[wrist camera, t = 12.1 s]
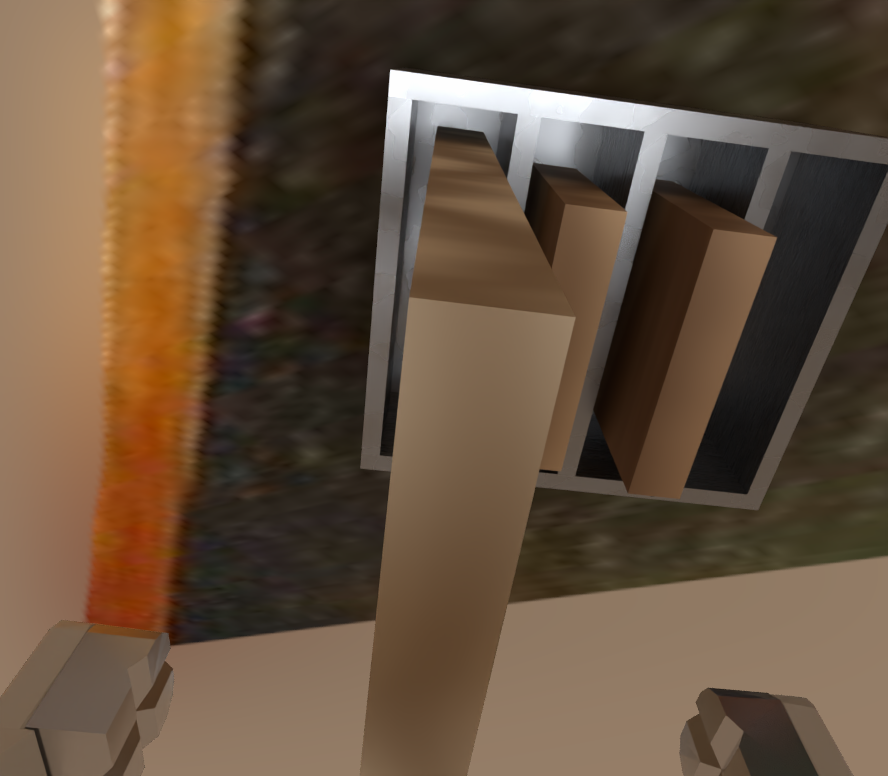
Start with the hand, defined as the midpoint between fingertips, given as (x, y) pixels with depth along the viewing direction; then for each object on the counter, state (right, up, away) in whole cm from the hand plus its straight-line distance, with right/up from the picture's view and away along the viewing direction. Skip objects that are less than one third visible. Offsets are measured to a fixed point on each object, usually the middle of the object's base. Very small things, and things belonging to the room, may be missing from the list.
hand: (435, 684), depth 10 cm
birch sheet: (0, +10, +20) cm, 23 cm away
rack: (+7, +10, +22) cm, 25 cm away
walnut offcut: (+9, +9, +21) cm, 24 cm away
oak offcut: (+4, +10, +20) cm, 23 cm away
